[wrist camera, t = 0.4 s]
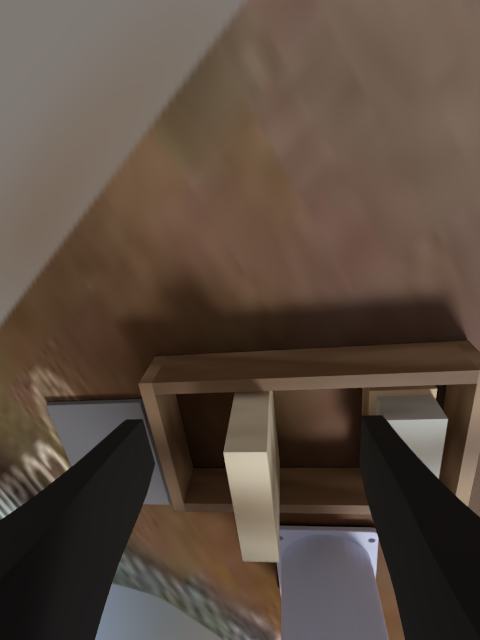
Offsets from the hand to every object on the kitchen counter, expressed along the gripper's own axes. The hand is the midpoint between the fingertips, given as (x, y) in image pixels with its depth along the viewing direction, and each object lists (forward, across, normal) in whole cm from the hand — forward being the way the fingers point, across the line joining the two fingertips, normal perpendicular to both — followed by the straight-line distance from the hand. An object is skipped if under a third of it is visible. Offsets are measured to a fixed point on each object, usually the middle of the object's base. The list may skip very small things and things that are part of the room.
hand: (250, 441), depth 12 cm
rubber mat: (+10, +12, +11) cm, 19 cm away
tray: (+10, -2, +8) cm, 13 cm away
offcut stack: (+10, -8, +8) cm, 15 cm away
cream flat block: (+10, +1, +8) cm, 13 cm away
